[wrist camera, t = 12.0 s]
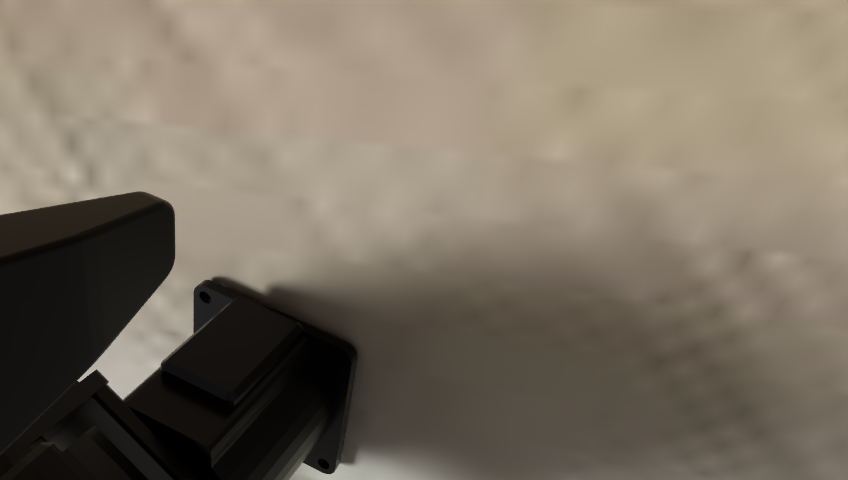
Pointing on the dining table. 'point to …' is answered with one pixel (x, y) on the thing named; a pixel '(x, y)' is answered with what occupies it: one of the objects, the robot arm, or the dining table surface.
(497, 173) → the dining table surface
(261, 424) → the robot arm
